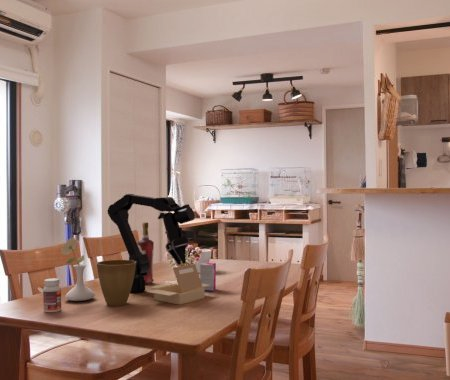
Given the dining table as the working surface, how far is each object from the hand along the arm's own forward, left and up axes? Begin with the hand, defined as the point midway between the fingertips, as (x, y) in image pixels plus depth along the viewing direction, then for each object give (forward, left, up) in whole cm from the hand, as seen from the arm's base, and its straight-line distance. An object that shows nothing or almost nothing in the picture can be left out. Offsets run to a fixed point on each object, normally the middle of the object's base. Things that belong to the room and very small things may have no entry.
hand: (181, 264), depth 208 cm
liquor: (-13, +31, -13) cm, 36 cm away
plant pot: (-26, -7, -13) cm, 30 cm away
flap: (+3, -10, -8) cm, 13 cm away
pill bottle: (-49, -12, -13) cm, 52 cm away
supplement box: (+12, +9, -13) cm, 20 cm away
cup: (+16, +56, -13) cm, 60 cm away
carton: (-3, -3, -13) cm, 14 cm away
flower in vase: (-41, +3, -13) cm, 43 cm away
